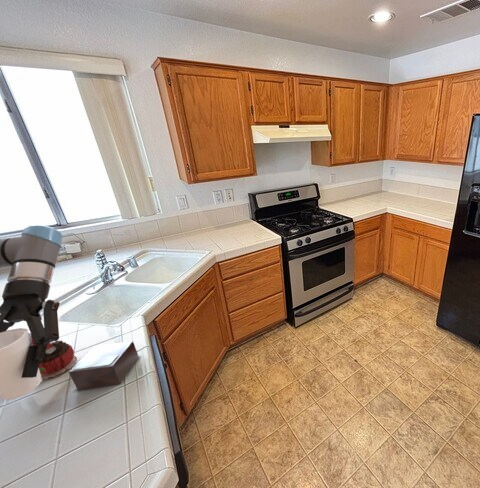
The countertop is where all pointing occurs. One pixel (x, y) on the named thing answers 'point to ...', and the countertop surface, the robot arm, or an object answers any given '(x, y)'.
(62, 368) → the cake
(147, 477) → the countertop surface
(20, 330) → the foam cup
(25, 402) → the countertop surface
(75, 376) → the box
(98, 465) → the countertop surface
